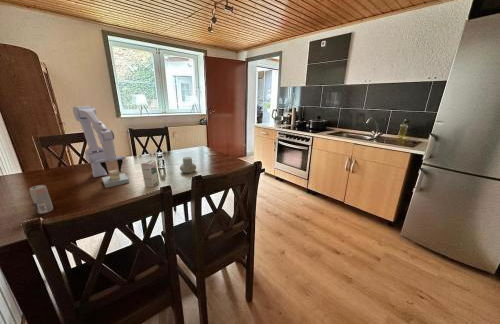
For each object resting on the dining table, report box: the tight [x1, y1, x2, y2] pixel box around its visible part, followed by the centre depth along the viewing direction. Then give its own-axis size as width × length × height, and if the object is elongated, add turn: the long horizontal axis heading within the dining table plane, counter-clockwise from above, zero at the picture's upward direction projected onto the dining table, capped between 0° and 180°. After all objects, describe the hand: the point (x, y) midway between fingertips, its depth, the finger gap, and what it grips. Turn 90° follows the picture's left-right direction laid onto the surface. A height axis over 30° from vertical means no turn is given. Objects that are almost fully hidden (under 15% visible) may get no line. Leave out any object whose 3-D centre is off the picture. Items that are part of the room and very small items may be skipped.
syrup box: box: [140, 159, 160, 188], centre depth 119 cm, size 6×6×14 cm
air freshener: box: [179, 156, 197, 174], centre depth 141 cm, size 11×8×10 cm
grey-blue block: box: [101, 173, 130, 189], centre depth 124 cm, size 12×12×3 cm
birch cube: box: [108, 169, 120, 180], centre depth 123 cm, size 4×4×4 cm
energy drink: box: [29, 184, 54, 215], centre depth 91 cm, size 5×5×12 cm
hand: (113, 172), depth 123 cm, fingers open, 6 cm apart
